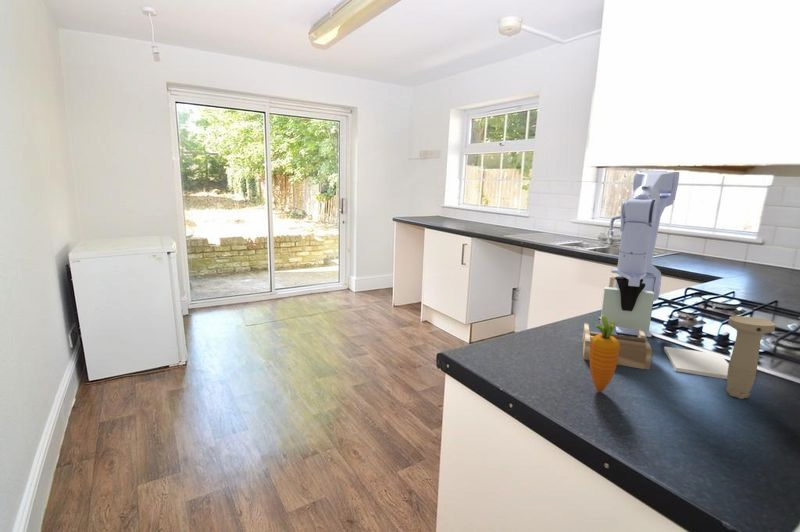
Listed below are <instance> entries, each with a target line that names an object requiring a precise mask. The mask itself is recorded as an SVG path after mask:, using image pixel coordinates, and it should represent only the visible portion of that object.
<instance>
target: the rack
mask: <svg viewBox="0 0 800 532" xmlns="http://www.w3.org/2000/svg"><path fill="white" fill-rule="evenodd" d="M598 334H602V332H598V331H592V330H591V331H590V325H589V323H585V322H584V323H583V331H582V354H583V355H582V356H583V360H585V361H589V357H590V341H591V338H592V337H594V336H596V335H598ZM611 336H613V337H615V338H616V339H617V340H618V342H619V343H620V350H619V356H618V361H617V366H622V367H623V366H624V367H629V368H636V369H637V368H638V369H641V370H648V371H650V369H651V362H652V357H653V356H652V355H653V349H652V347H651V345H650V343H649V340H648V337H646V336H645V333H644V331H642V330H638V336H635V337H634V336H630V335H629V336H628V335H619V334H613V333H612V334H611Z"/></svg>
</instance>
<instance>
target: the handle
mask: <svg viewBox="0 0 800 532" xmlns="http://www.w3.org/2000/svg"><path fill="white" fill-rule="evenodd" d="M728 325H730V327H731V328H733V329H734V330H736V338H735V341H734V345H733V349H732V352H731V356H730V359H729V362H728V364H729V366H728V374H727V379H726V383H727V384H726V386H725V387H726V388H725V389H726V393H727V394H728V395H729V396H730V397H733V398H737V399H740V400H744V399H748V398H749V397H750V395H751V390H752V388H753V385H754V384H755V379H756V376H757V372H758V365H759V364H758V362H759V354H760V348H761V340H762V338H763V335H765V334H766V335H767V334H770V333H774V332H775V329H776V326H777V324H776V323H775V322H773V321H771V320H767V319H765V318H758V317H752V316H744V315H743V316H741V315H740V316H739V315H738V316H737V315H735V316H733V315H732V316H729V318H728Z"/></svg>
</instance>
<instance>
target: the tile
mask: <svg viewBox="0 0 800 532" xmlns="http://www.w3.org/2000/svg"><path fill="white" fill-rule="evenodd" d="M663 351H664V353H665V354H666V356H667V358H668V359H669V362H670V364H671V366H672V367H673V369H674V371H675V372H679V373H686V374H692V375H699V376H703V377H704V376H705V377H710V378H711V377H713V378H718V379H723V380H724V379H725V380H727V374H728V366H729V362H728V361H727V360H726V359H725V358H724V357H723V355H721V353H715V352H714V353H713V352H709V351H708V352H707V351H701V350H700V351H699V350H692V349H685V348H679V347H670V346H666V345H665V346H664V347H663Z"/></svg>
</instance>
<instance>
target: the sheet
mask: <svg viewBox="0 0 800 532" xmlns="http://www.w3.org/2000/svg"><path fill="white" fill-rule="evenodd" d="M602 295H603V297H602V305H601V315H600V325H601V326H604V324H603V320H602V316H606V318H607V321H608V325H609V326H610V324H611V321H613V322H614V323H615V324H614V328H615V327H622V328H630V329H638V330H645V331H649V332H650V326H651V325H650V324H651V318H652V312H653V307H654V306H653V303H654V301H653V299H654V292H653V291H643V290H642V291H641V293H640V294H639V296H638V298H637V300H636V303H635V306H634V308H633V310H632V311H625V310H622V308H621V295H620V289H619V288H615V287H609V286H604V288H603V294H602Z"/></svg>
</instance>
